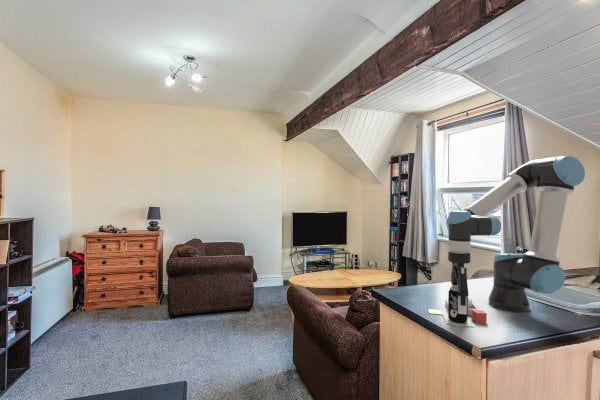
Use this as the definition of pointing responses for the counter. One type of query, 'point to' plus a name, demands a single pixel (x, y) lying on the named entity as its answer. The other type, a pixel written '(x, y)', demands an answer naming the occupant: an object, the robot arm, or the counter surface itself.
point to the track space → (435, 312)
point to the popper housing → (468, 308)
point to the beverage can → (455, 307)
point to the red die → (479, 316)
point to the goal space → (457, 323)
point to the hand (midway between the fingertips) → (458, 307)
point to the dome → (469, 303)
